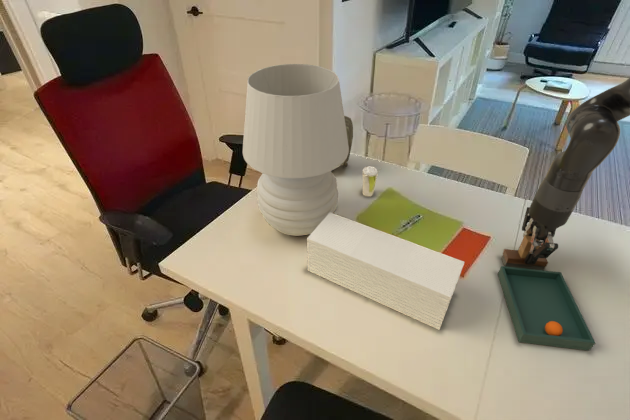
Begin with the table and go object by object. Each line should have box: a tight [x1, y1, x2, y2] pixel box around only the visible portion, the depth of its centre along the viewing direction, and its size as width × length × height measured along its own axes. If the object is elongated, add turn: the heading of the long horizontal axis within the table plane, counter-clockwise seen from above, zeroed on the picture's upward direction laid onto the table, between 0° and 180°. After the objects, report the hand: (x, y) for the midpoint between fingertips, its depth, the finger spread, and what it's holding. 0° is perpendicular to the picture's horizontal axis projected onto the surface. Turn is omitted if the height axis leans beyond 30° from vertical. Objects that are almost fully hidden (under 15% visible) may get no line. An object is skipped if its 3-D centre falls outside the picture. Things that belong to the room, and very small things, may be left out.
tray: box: [497, 265, 596, 352], centre depth 80 cm, size 13×18×3 cm
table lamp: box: [242, 63, 349, 237], centre depth 91 cm, size 25×25×40 cm
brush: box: [500, 235, 549, 270], centre depth 89 cm, size 9×4×8 cm, turn 82°
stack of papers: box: [306, 212, 465, 331], centre depth 83 cm, size 32×11×11 cm, turn 59°
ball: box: [545, 321, 563, 336], centre depth 74 cm, size 3×3×3 cm
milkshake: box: [362, 165, 381, 198], centre depth 111 cm, size 4×5×10 cm
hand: (526, 256), depth 89 cm, fingers open, 4 cm apart
